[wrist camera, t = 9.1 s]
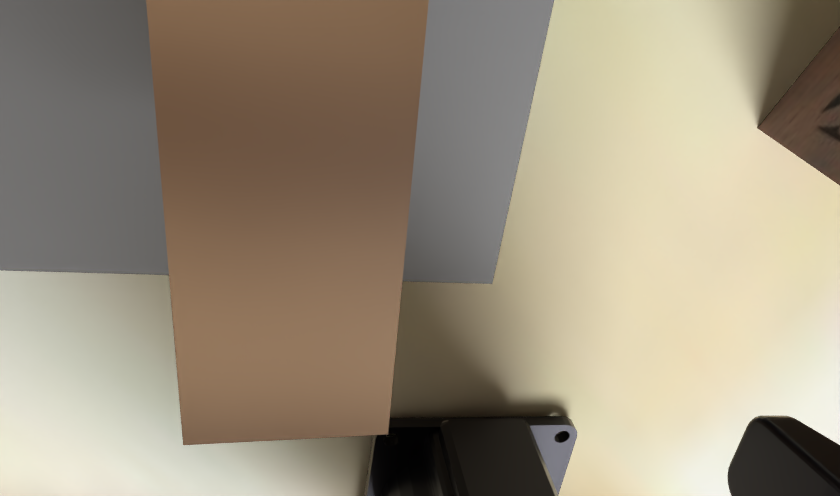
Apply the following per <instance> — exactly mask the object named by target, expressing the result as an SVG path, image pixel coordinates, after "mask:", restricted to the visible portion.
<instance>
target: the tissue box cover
mask: <svg viewBox="0 0 840 496" xmlns="http://www.w3.org/2000/svg"><path fill="white" fill-rule="evenodd" d="M758 129H759V130H761V131H762V132H764V133H765V134H767V135H768V136H770V137H771V138H772V139H774V140H775V141H777V142H778V143H780V144H781V145H782V146H784V147H785V148H787V149H788V150H790V151H791V152H793V153H794V154H795V155H797V156H798V157H800V158H801V159H803V160H804V161H806V162H807V163H808V164H810V165H811V166H813V167H814V168H816V169H817V170H818V171H820V172H821V173H823V174H824V175H826V176H827V177H829V178H830V179H831V180H833V181H834V182H836V183H837V184H839V185H840V27H839V28H838V30H837V31H836V32H835V33H834V34H833V36H832V37H831V38H830V39H829V41H828V42H827V43H826V44H825V46H824V47H823V48H822V49H821V50H820V52H819V53H818V54H817V55H816V57H815V58H814V59H813V60H812V61H811V63H810V64H809V65H808V66H807V68H806V69H805V70H804V71H803V73H802V74H801V75H800V76H799V77H798V79H797V80H796V81H795V82H794V84H793V85H792V86H791V87H790V89H789V90H788V91H787V92H786V93H785V95H784V96H783V97H782V98H781V100H780V101H779V102H778V103H777V105H776V106H775V107H774V108H773V109H772V111H771V112H770V113H769V114H768V116H767V117H766V118H765V119H764V121H763V122H762V123H761V124H760V125H759V127H758Z"/></svg>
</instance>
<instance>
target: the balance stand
mask: <svg viewBox="0 0 840 496" xmlns="http://www.w3.org/2000/svg"><path fill="white" fill-rule="evenodd" d="M553 3H554V0H429V3H428V14H427V24H426V35H425V46H424V56H423V67H422V78H421V88H420V99H419V110H418V120H417V131H416V142H415V152H414V163H413V173H412V184H411V195H410V205H409V216H408V227H407V237H406V248H405V259H404V269H403V280H402V281H410V282H446V283H483V284H492V282H493V278H494V273H495V269H496V264H497V259H498V255H499V250H500V246H501V241H502V236H503V232H504V227H505V223H506V218H507V214H508V209H509V204H510V200H511V195H512V191H513V186H514V181H515V177H516V172H517V168H518V163H519V159H520V154H521V149H522V145H523V140H524V136H525V131H526V126H527V122H528V117H529V113H530V108H531V104H532V99H533V94H534V90H535V85H536V81H537V76H538V71H539V67H540V62H541V58H542V53H543V49H544V44H545V39H546V35H547V30H548V26H549V21H550V16H551V12H552V7H553ZM0 270H8V271H44V272H81V273H117V274H154V275H169V268H168V256H167V245H166V233H165V221H164V209H163V197H162V185H161V173H160V161H159V149H158V137H157V125H156V113H155V101H154V89H153V77H152V65H151V53H150V41H149V29H148V17H147V5H146V0H0Z"/></svg>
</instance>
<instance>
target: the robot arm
mask: <svg viewBox="0 0 840 496" xmlns="http://www.w3.org/2000/svg"><path fill="white" fill-rule="evenodd" d="M560 431H563V432H561V433H559V432H560ZM392 433H393V434H395V435H394V436H390V437H387V436H386V435H373V439H372V446H371V453H370V459H369V466H368V473H367V480H366V487H365V494H364V496H558V494H559V491H560V488H561V485H562V482H563V478H564V475H565V472H566V469H567V466H568V463H569V460H570V456H571V453H572V450H573V447H574V444H575V441H576V438H577V431H576V429H575V427H574V425H573V423H572V421H571V419H569V418H568V417H563V416H540V417H449V418H389V429H388V434H392ZM557 433H559V434H557ZM388 434H387V435H388ZM728 485H729V489H730V493H731V495H732V496H840V445H838V444H837V443H835V442H833V441H832V440H830V439H828V438H827V437H825V436H823V435H822V434H820V433H818V432H817V431H815V430H813V429H812V428H810V427H808V426H806V425H805V424H803V423H801V422H800V421H798V420H796V419H794V418H792V417H789V416H758V417H755V418H754V419H753V420H752V421H750V422H749V424H748V426H747V428H746V430H745V432H744V435H743V437H742V439H741V441H740V443H739V446H738V448H737V450H736V452H735V455H734V457H733V459H732V461H731V463H730V466H729V470H728Z"/></svg>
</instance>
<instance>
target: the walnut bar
mask: <svg viewBox="0 0 840 496" xmlns="http://www.w3.org/2000/svg"><path fill="white" fill-rule="evenodd" d="M428 3H429V0H146V5H147V17H148V29H149V41H150V53H151V65H152V77H153V89H154V101H155V113H156V125H157V137H158V149H159V161H160V173H161V185H162V197H163V209H164V221H165V233H166V245H167V256H168V268H169V280H170V292H171V304H172V316H173V328H174V340H175V352H176V364H177V376H178V388H179V400H180V412H181V424H182V436H183V445H195V444H214V443H233V442H253V441H272V440H291V439H310V438H329V437H349V436H368V435H387V434H388V429H389V418H390V408H391V397H392V386H393V376H394V365H395V354H396V344H397V333H398V323H399V312H400V301H401V291H402V280H403V269H404V259H405V248H406V237H407V227H408V216H409V205H410V195H411V184H412V173H413V163H414V152H415V142H416V131H417V120H418V110H419V99H420V88H421V78H422V67H423V56H424V46H425V35H426V24H427V14H428Z"/></svg>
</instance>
